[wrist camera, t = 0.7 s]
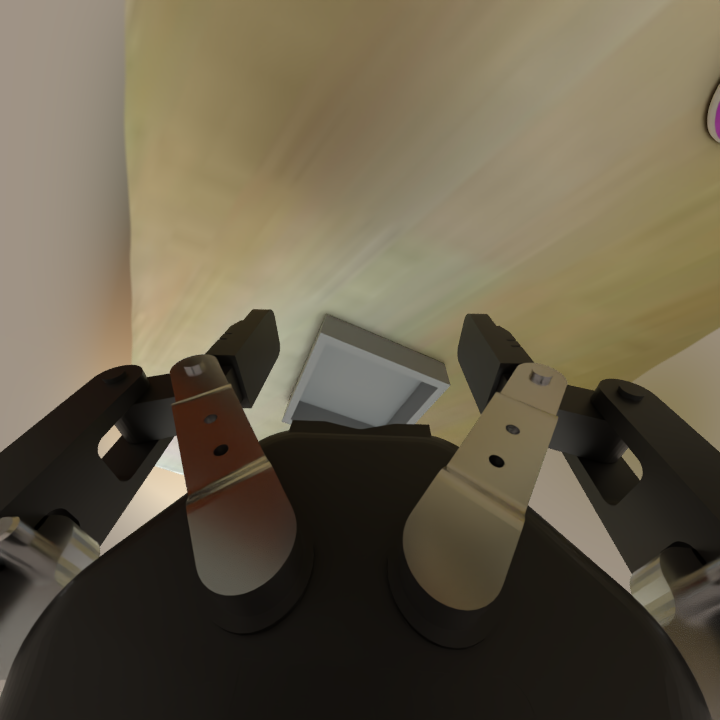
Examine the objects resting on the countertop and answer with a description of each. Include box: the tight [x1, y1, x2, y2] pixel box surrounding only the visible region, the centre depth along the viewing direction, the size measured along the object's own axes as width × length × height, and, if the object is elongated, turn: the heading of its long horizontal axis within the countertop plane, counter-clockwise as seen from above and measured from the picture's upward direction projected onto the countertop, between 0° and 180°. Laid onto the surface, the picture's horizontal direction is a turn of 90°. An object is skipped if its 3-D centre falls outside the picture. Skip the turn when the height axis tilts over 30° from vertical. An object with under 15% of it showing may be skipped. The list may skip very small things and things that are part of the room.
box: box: [282, 314, 450, 429], centre depth 37 cm, size 16×16×4 cm
